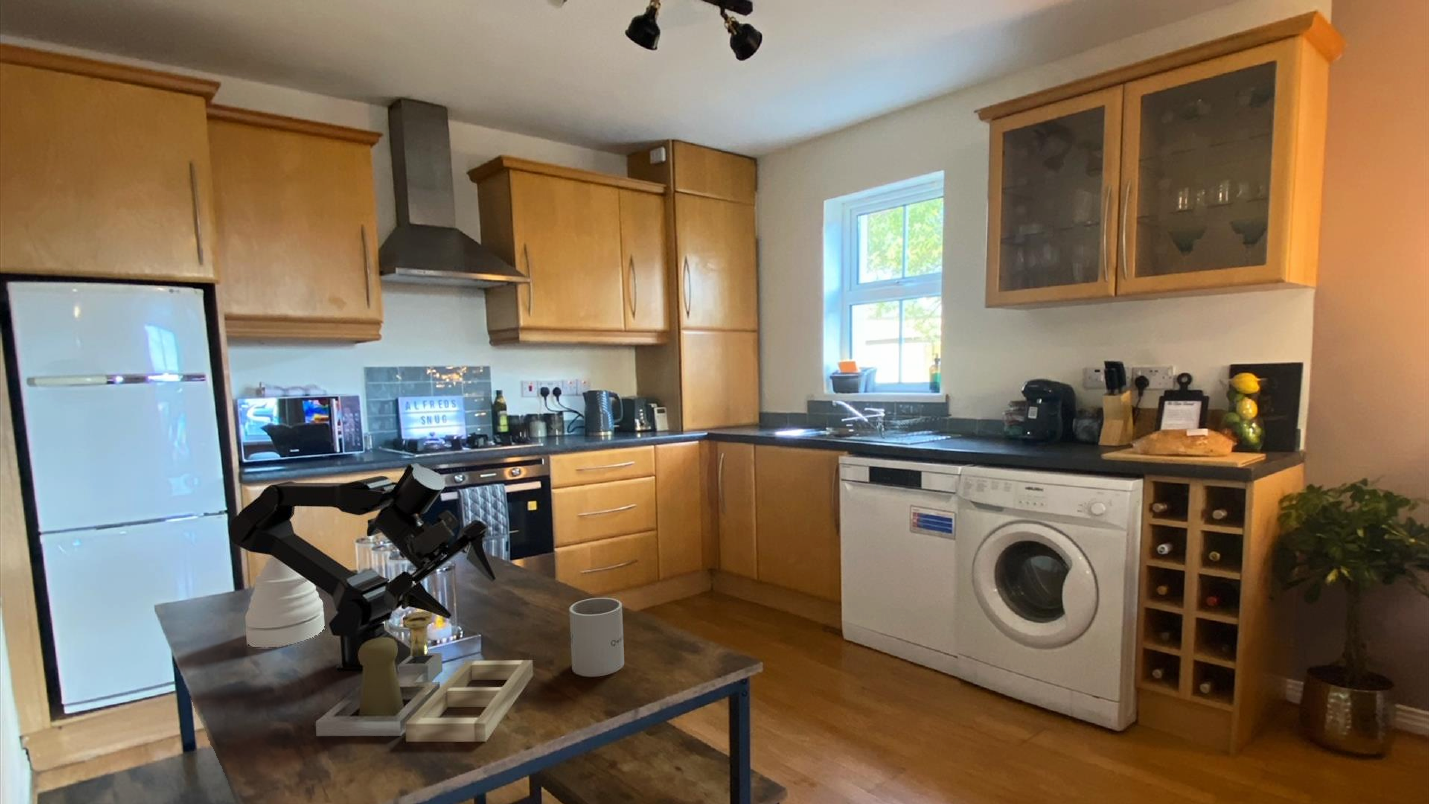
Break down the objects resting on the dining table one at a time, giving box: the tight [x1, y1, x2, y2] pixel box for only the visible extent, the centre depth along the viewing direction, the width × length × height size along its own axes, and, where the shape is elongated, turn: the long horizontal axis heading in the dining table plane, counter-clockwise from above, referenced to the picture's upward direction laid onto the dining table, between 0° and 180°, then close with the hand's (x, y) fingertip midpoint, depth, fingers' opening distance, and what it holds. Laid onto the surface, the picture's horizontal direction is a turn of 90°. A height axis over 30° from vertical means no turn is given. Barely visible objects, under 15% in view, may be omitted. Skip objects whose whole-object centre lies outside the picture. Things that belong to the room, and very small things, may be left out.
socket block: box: [315, 652, 444, 737], centre depth 106 cm, size 12×20×3 cm, turn 177°
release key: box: [402, 610, 433, 657], centre depth 113 cm, size 4×4×6 cm
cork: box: [358, 637, 405, 716], centre depth 102 cm, size 6×6×11 cm
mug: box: [569, 597, 625, 678], centre depth 118 cm, size 12×9×10 cm
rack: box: [405, 659, 534, 743], centre depth 104 cm, size 11×20×2 cm, turn 177°
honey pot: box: [244, 555, 325, 649], centre depth 134 cm, size 13×13×18 cm
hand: (473, 598), depth 114 cm, fingers open, 9 cm apart
